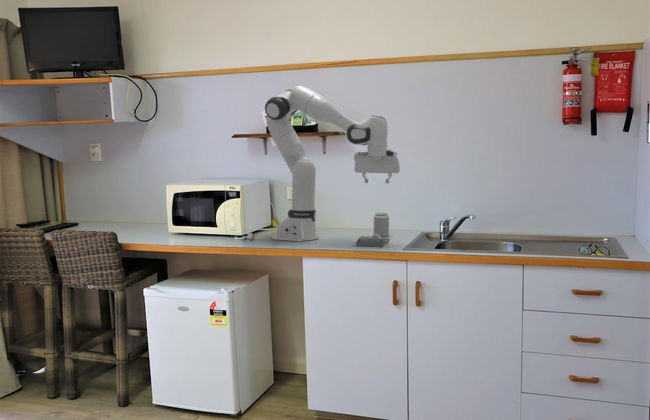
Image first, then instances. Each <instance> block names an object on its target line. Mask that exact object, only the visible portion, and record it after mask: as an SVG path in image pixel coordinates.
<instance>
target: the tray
mask: <svg viewBox="0 0 650 420" xmlns="http://www.w3.org/2000/svg"><path fill="white" fill-rule="evenodd" d="M381 238H382V239H385V245H386V244H388V243H389V241H390V238H388V237H381Z"/></svg>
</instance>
